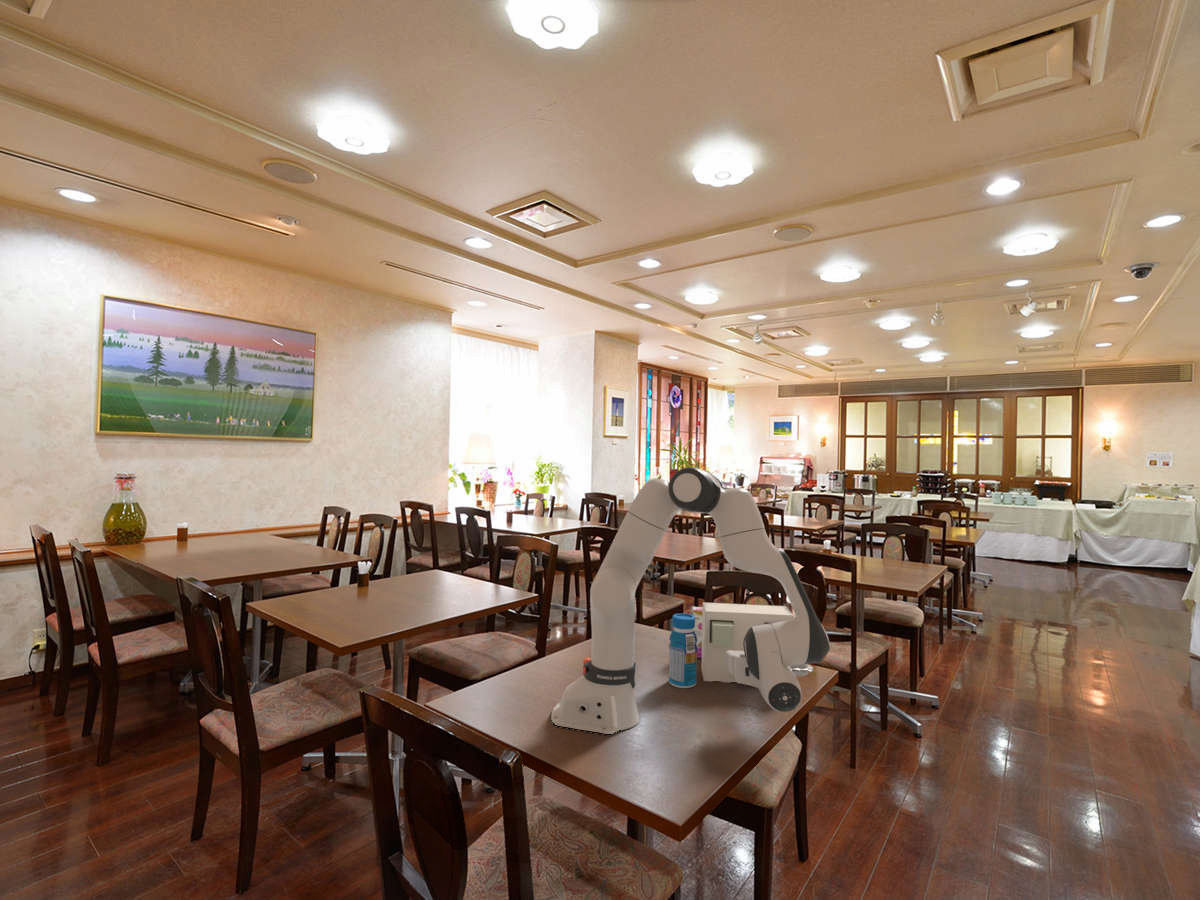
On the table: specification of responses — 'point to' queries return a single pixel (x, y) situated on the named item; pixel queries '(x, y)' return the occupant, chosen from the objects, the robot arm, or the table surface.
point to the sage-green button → (722, 633)
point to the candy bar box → (698, 628)
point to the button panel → (742, 622)
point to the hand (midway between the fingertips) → (761, 651)
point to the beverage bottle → (683, 652)
